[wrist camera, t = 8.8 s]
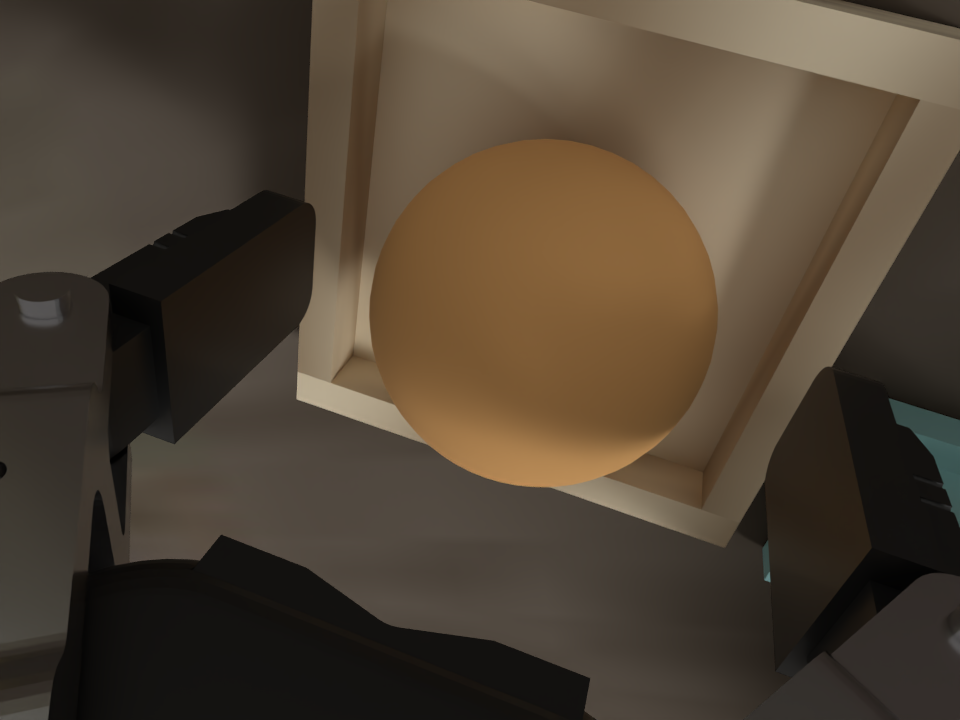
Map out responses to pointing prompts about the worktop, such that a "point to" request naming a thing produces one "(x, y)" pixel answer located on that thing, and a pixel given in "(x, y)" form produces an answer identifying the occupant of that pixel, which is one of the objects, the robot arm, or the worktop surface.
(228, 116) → the worktop surface
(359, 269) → the tray
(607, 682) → the worktop surface
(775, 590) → the robot arm
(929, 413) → the teal box
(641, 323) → the ball
